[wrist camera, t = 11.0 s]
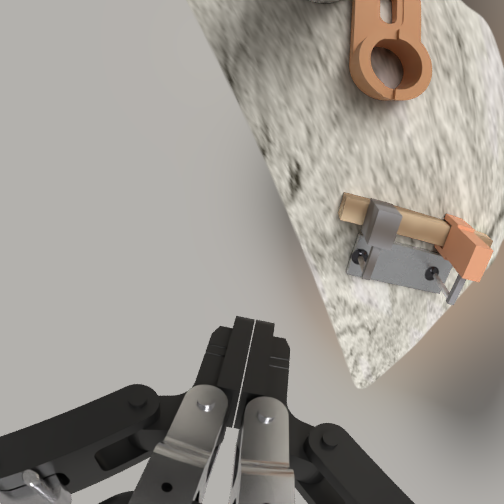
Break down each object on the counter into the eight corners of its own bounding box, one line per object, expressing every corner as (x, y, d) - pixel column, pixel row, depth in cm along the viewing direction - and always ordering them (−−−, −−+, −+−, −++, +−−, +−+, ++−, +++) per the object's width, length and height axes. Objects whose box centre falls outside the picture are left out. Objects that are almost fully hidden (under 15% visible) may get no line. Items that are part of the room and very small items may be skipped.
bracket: (408, 106, 34) (428, 107, 28) (346, 93, 35) (356, 91, 29) (413, -15, 26) (431, -31, 20) (352, -30, 27) (361, -50, 21)
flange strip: (357, 232, 43) (358, 235, 42) (452, 256, 42) (455, 260, 41) (344, 270, 45) (345, 273, 44) (437, 290, 45) (439, 293, 44)
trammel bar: (345, 187, 40) (354, 203, 34) (487, 230, 39) (509, 249, 33) (327, 249, 44) (332, 274, 38) (464, 281, 43) (482, 305, 37)
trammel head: (446, 213, 39) (477, 242, 30) (462, 218, 39) (494, 248, 30) (423, 271, 43) (446, 309, 35) (439, 275, 43) (463, 313, 35)
